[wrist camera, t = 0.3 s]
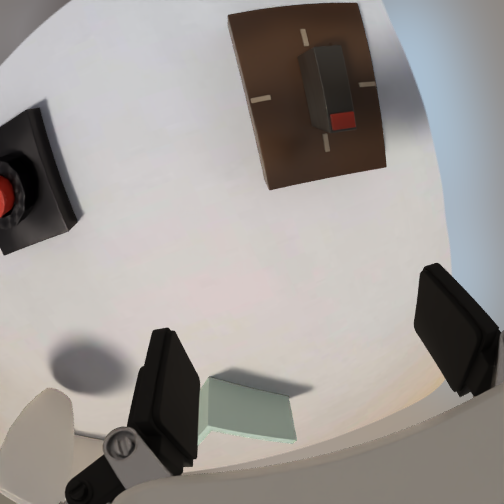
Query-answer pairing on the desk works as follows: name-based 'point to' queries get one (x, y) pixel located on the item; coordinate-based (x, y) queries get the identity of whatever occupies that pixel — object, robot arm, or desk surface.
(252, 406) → the right angle wall
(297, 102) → the panel
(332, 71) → the handle
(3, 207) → the button
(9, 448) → the cup
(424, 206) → the desk surface
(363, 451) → the robot arm
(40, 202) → the button block
